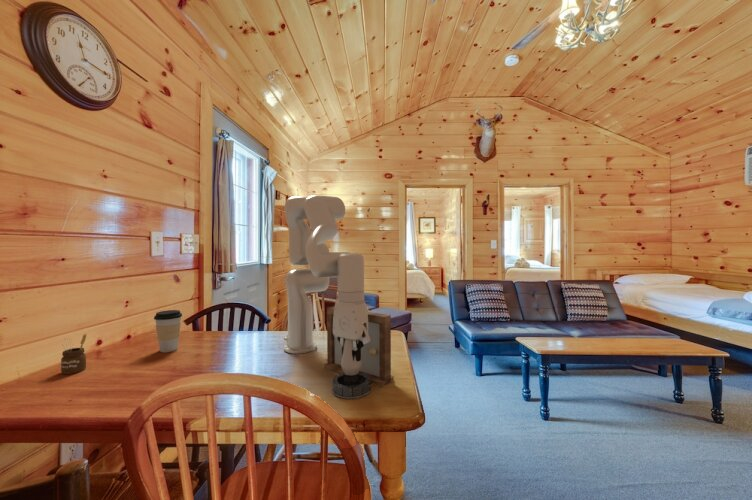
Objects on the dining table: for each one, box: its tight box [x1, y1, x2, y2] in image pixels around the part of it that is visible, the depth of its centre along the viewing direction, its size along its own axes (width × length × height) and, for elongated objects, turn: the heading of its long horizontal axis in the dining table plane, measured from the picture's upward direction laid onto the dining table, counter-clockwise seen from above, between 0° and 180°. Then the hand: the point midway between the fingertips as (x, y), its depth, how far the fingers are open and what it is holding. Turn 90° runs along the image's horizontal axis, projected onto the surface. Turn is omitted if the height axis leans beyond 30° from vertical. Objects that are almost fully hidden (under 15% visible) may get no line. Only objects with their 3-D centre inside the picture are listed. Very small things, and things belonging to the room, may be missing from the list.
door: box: [335, 321, 380, 377], centre depth 99 cm, size 19×3×16 cm, turn 53°
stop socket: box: [331, 372, 372, 400], centre depth 88 cm, size 11×11×3 cm
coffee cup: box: [153, 309, 183, 353], centre depth 123 cm, size 9×9×15 cm
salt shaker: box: [341, 339, 362, 375], centre depth 88 cm, size 6×6×13 cm
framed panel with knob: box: [323, 305, 395, 388], centre depth 99 cm, size 24×6×20 cm, turn 53°
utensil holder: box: [60, 333, 87, 375], centre depth 102 cm, size 6×6×12 cm
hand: (351, 361), depth 88 cm, fingers closed on salt shaker, 3 cm apart
